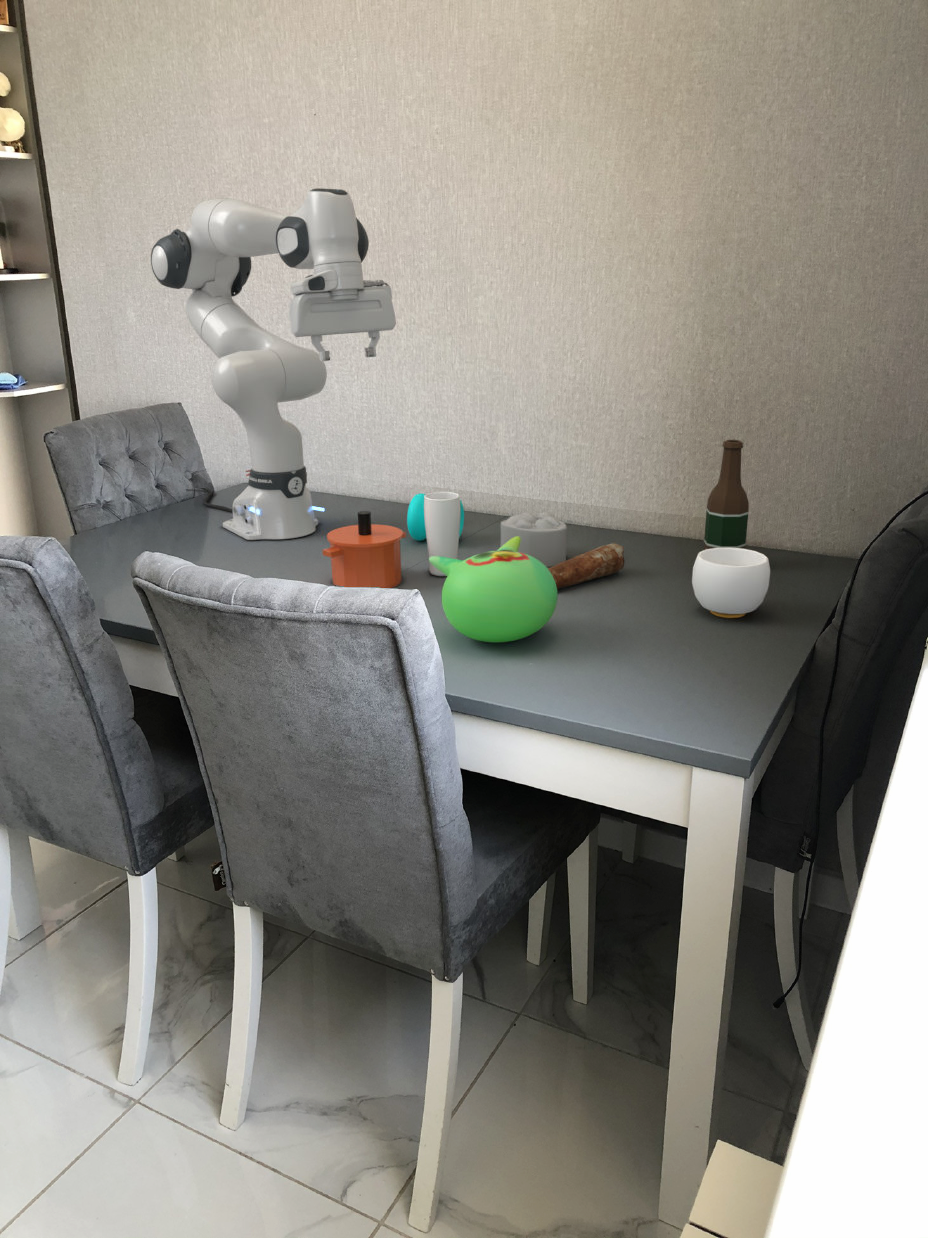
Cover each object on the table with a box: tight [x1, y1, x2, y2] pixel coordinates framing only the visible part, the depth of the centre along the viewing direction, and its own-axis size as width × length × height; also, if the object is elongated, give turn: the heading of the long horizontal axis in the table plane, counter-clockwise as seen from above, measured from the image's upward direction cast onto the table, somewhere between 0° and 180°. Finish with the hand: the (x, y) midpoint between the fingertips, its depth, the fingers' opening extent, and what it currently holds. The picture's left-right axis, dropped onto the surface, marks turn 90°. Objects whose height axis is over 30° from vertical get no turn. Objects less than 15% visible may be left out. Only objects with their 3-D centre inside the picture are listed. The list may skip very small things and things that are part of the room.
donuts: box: [406, 493, 465, 542], centre depth 203 cm, size 10×10×10 cm
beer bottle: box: [702, 439, 750, 551], centre depth 182 cm, size 8×8×24 cm
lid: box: [326, 510, 404, 547], centre depth 176 cm, size 14×14×5 cm
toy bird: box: [428, 536, 558, 643], centre depth 149 cm, size 18×17×15 cm
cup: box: [691, 548, 771, 619], centre depth 160 cm, size 12×12×10 cm
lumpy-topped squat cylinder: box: [500, 511, 568, 568], centre depth 190 cm, size 10×13×9 cm
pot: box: [322, 531, 407, 589], centre depth 178 cm, size 13×18×8 cm
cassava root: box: [548, 542, 626, 590], centre depth 177 cm, size 6×19×6 cm, turn 128°
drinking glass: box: [424, 491, 461, 577], centre depth 181 cm, size 7×7×15 cm
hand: (348, 359), depth 182 cm, fingers open, 8 cm apart
